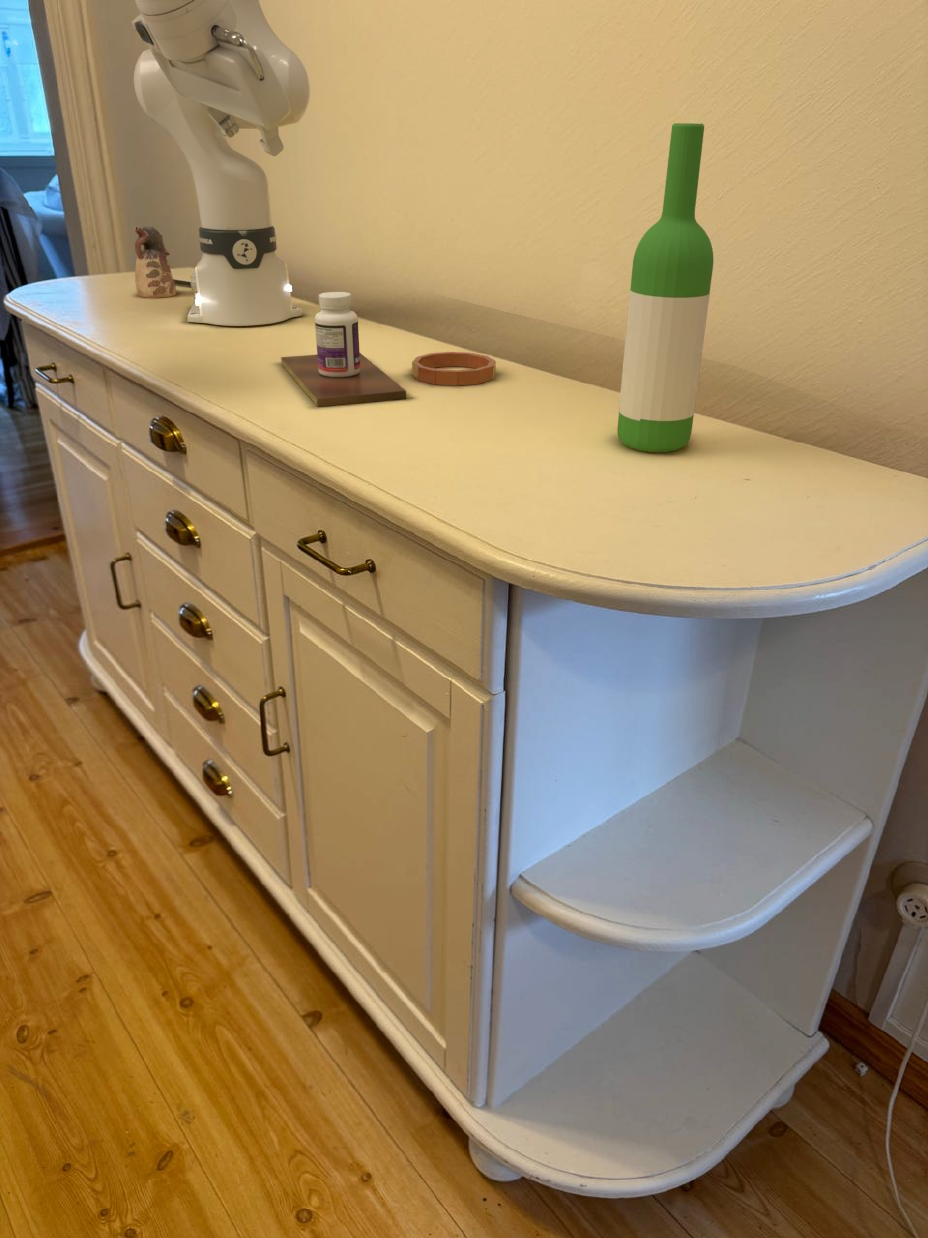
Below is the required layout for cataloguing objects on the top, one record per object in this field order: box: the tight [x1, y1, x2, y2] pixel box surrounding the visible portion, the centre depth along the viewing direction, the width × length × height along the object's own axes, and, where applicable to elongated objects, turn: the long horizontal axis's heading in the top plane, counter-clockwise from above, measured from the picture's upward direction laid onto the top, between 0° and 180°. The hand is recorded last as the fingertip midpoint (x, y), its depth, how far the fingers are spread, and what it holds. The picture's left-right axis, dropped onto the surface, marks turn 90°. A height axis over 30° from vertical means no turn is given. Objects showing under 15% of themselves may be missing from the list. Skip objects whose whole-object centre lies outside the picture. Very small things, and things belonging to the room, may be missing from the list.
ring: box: [411, 351, 497, 387], centre depth 122 cm, size 11×11×2 cm
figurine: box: [134, 225, 178, 299], centre depth 170 cm, size 7×7×12 cm
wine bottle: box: [616, 122, 714, 453], centre depth 91 cm, size 8×8×30 cm
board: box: [280, 352, 407, 408], centre depth 120 cm, size 22×11×1 cm, turn 21°
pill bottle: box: [314, 291, 361, 378], centre depth 117 cm, size 5×5×10 cm
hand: (253, 142), depth 108 cm, fingers open, 8 cm apart
